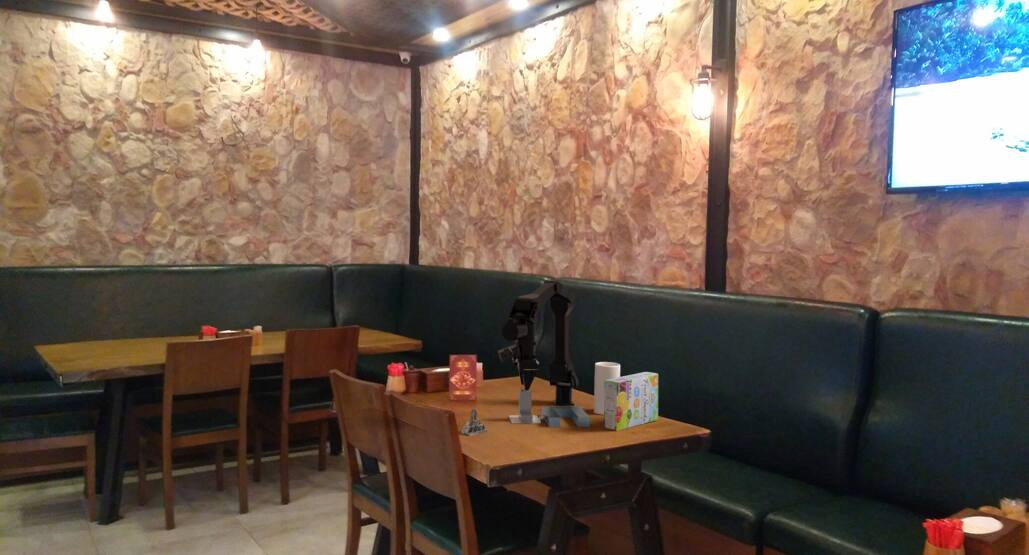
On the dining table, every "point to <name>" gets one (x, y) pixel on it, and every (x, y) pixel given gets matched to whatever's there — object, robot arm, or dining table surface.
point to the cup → (603, 373)
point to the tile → (516, 420)
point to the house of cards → (473, 425)
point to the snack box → (630, 400)
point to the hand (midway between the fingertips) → (524, 387)
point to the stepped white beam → (525, 406)
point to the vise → (564, 415)
